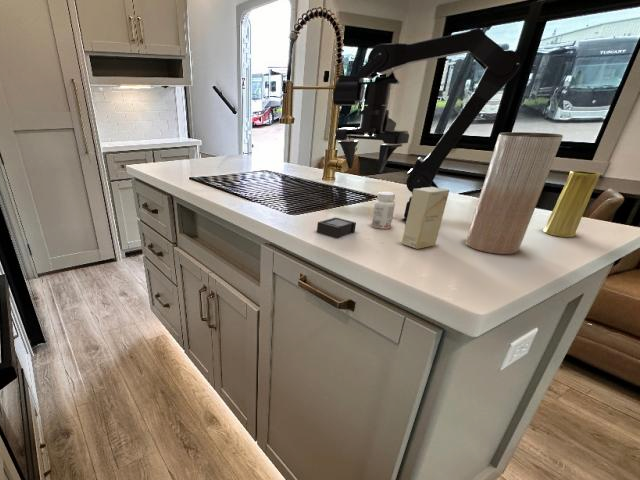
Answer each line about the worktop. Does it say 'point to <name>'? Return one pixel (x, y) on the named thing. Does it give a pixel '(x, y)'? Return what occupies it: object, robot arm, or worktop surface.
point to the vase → (571, 204)
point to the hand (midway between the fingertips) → (364, 170)
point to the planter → (511, 190)
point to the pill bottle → (383, 210)
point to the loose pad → (341, 226)
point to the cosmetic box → (424, 217)
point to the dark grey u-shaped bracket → (332, 227)
